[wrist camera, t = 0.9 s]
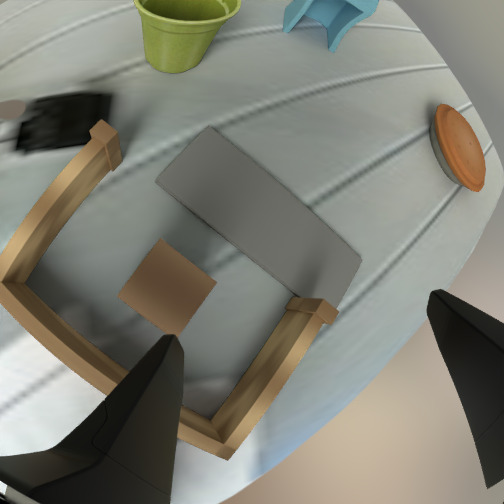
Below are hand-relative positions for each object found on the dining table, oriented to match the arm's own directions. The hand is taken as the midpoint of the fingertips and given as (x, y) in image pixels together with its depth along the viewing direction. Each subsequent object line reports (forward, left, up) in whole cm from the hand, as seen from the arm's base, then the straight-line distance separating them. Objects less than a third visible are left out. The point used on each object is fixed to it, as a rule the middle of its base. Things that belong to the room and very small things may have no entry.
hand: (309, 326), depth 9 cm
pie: (+41, -18, -16) cm, 48 cm away
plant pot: (+17, +19, -16) cm, 30 cm away
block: (-1, +4, -15) cm, 16 cm away
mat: (+9, 0, -15) cm, 18 cm away
